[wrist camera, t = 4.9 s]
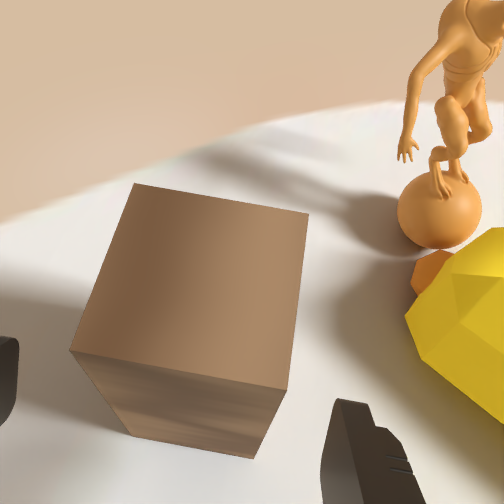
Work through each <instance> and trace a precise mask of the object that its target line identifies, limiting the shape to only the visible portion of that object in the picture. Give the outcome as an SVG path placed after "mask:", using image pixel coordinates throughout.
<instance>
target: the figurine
mask: <svg viewBox="0 0 504 504" xmlns="http://www.w3.org/2000/svg"><path fill="white" fill-rule="evenodd" d="M503 38H504V0H503V1H490V0H452V1H451V2H450V3H449V4H448V5H447V6H446V8H445V9H444V11H443V13H442V15H441V18H440V21H439V28H438V40H437V42H436V44H435V45H434V46H433V47H432V48H431V49H430V50H429V51H428V53H427V54H426V55H425V56H424V57H423V58H422V59H421V61H420V62H419V63H418V64H417V65H416V66H415V68H414V69H413V70H412V72H411V74H410V76H409V80H408V85H407V97H406V103H405V110H404V118H403V130H402V134H401V137H400V140H399V144H398V154H397V159H398V161H399V158H400V154H401V153H402V154H403V162H404V163H405V162H406V153H408V154H409V157H410V160H411V162H413V159H412V149H411V148H412V146H414V147H415V148H416V149H417V150H419V147H418V145H417V143H416V142H415V141H414V140H413V139H412V137H411V134H412V130H413V127H414V124H415V121H416V117H417V112H418V102H419V96H420V93H421V88H422V84H423V80H424V78H425V77H426V76H427V75H428V74H429V73H430V72H432V71H433V70H434V69H435V68H436V67H437V66H438V65H439V64H440V63H441V62H442V63H443V68H444V85H445V90H446V91H445V92H446V93H445V97H442V98H440V99H439V100H438V101H437V102H436V104H435V107H434V109H435V114H436V116H437V124H438V126H439V128H440V131H441V135H442V138H443V141H444V143H445V145H446V146H447V147H445V146H437V147H434V148H433V149H432V151H431V156H430V157H429V169H430V172H427V173H424V174H422V175H420V176H418V177H416V178H415V179H414V180H412V181H411V182H410V183H409V184H408V185H407V186H406V187H405V189H404V190H403V192H402V194H401V196H400V198H399V201H398V206H397V216H398V221H399V224H400V227H401V229H402V230H403V232H404V233H405V235H406V236H407V237H408V238H409V239H410V240H412V241H413V242H414V243H416V244H418V245H420V246H422V247H425V248H429V249H447V248H451V247H454V246H457V245H459V244H461V243H462V242H464V241H465V240H466V239H468V238H469V237H470V236H471V235H472V234H473V232H474V231H475V230H476V228H477V226H478V224H479V222H480V218H481V213H482V204H481V199H480V196H479V193H478V191H477V190H476V188H475V187H474V185H473V184H472V183H471V182H470V181H469V178H468V176H467V174H466V173H465V172H464V171H463V170H462V169H461V166H460V161H459V158H460V157H461V156H462V155H463V154H464V153H465V152H466V150H467V148H468V145H470V144H473V143H477V142H481V141H483V140H485V139H486V138H487V137H488V136H489V135H490V134H491V133H492V129H493V128H492V124H491V122H490V120H489V115H488V110H487V105H486V101H485V80H484V78H483V77H482V75H483V73H484V72H485V71H486V70H488V69H489V67H490V66H491V65H492V63H493V62H494V61H495V60H496V58H497V57H498V55H499V53H500V50H501V47H502V40H503ZM469 126H470V127H471V130H472V132H469V131H468V128H469ZM447 160H448V162H449V170H448V171H444V170H441V168H440V164H439V162H442V161H447Z"/></svg>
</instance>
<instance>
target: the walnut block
mask: <svg viewBox="0 0 504 504" xmlns="http://www.w3.org/2000/svg"><path fill="white" fill-rule="evenodd" d="M308 217H309V214H307V213H301V212H296V211H290V210H284V209H279V208H273V207H267V206H262V205H256V204H250V203H244V202H239V201H233V200H227V199H222V198H216V197H210V196H205V195H199V194H193V193H188V192H182V191H176V190H170V189H165V188H159V187H153V186H148V185H142V184H136V183H134V185H133V187H132V190H131V192H130V195H129V197H128V200H127V203H126V205H125V208H124V210H123V213H122V215H121V218H120V221H119V223H118V226H117V228H116V231H115V233H114V236H113V239H112V241H111V244H110V246H109V249H108V251H107V254H106V257H105V259H104V262H103V264H102V267H101V269H100V272H99V275H98V277H97V280H96V282H95V285H94V287H93V290H92V293H91V295H90V298H89V300H88V303H87V305H86V308H85V311H84V313H83V316H82V318H81V321H80V323H79V326H78V329H77V331H76V334H75V336H74V339H73V341H72V344H71V347H70V349H69V350H70V352H71V353H72V355H73V356H74V357H75V359H76V360H77V361H78V363H79V364H80V366H81V367H82V368H83V370H84V371H85V372H86V374H87V375H88V377H89V378H90V379H91V381H92V382H93V383H94V385H95V386H96V387H97V389H98V390H99V392H100V393H101V394H102V396H103V397H104V398H105V400H106V401H107V403H108V404H109V405H110V407H111V408H112V409H113V411H114V412H115V414H116V415H117V416H118V418H119V419H120V420H121V422H122V423H123V424H124V426H125V427H126V429H127V430H128V431H129V433H130V434H131V435H132V436H133V437H138V438H144V439H149V440H154V441H160V442H165V443H170V444H175V445H181V446H186V447H191V448H197V449H202V450H207V451H212V452H218V453H223V454H228V455H234V456H239V457H244V458H249V459H254V457H255V455H256V453H257V451H258V449H259V447H260V445H261V443H262V441H263V439H264V437H265V435H266V433H267V430H268V428H269V426H270V424H271V422H272V420H273V418H274V416H275V414H276V412H277V410H278V408H279V406H280V404H281V402H282V400H283V398H284V396H285V393H286V391H287V387H288V378H289V370H290V362H291V354H292V346H293V338H294V330H295V322H296V314H297V306H298V298H299V290H300V282H301V274H302V266H303V258H304V250H305V242H306V233H307V225H308Z"/></svg>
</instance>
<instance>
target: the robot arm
mask: <svg viewBox="0 0 504 504" xmlns="http://www.w3.org/2000/svg"><path fill="white" fill-rule="evenodd" d="M18 360H19V343H18V341H17V339H15V338H11V337H5V336H0V426H1V425H2V424H3V423H4V422H5V421H6V420H7V418H8V417H9V415H10V413H11V411H12V409H13V406H14V404H15V400H16V392H17V376H18ZM320 482H321V490H322V498H323V504H426V502H425V500H424V497H423V495H422V493H421V490H420V488H419V485H418V483H417V480H416V478H415V476H414V475H413V471H412V468H411V466H410V463H409V462H407V456H406V454H405V451H404V449H403V446H402V444H401V442H400V441H399V440H398V439H397V438H396V437H395V436H394V435H393V434H392V433H391V432H390V431H389V430H388V429H387V428H383V427H377V426H375V423H374V420H373V418H372V415H371V412H370V409H369V406H368V404H366V403H361V402H356V401H350V400H345V399H339V398H337V399H336V401H335V403H334V406H333V410H332V414H331V419H330V423H329V427H328V431H327V436H326V440H325V444H324V449H323V453H322V459H321V468H320Z"/></svg>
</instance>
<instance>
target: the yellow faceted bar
mask: <svg viewBox="0 0 504 504" xmlns="http://www.w3.org/2000/svg"><path fill="white" fill-rule="evenodd" d="M410 284H411V286H412V287H413V289H414V291H415V292H416V294H417V296H418V297H417V299H416V300H415V302H414V303H413V305H412V306H411V308H410V309H409V310H408V312H407V313H406V315H405V319H406V322H407V324H408V327H409V329H410V332H411V335H412V337H413V340H414V342H415V345H416V348H417V350H418V353H419V355H420V358H421V360H423V361H424V362H425V363H426V364H428V365H429V366H430V367H431V368H433V369H434V370H435V371H436V372H438V373H439V374H440V375H441V376H443V377H444V378H445V379H446V380H448V381H449V382H450V383H452V384H453V385H454V386H455V387H457V388H458V389H459V390H460V391H462V392H463V393H464V394H465V395H467V396H468V397H469V398H470V399H472V400H473V401H474V402H475V403H477V404H478V405H479V406H480V407H482V408H483V409H484V410H485V411H487V412H488V413H489V414H490V415H492V416H493V417H494V418H495V419H497V420H498V421H499V422H500V423H502V424H503V425H504V227H499V228H491V229H489V230H488V231H486V232H485V233H484V234H482V235H481V236H479V237H478V238H476V239H475V240H474V241H472V242H471V243H469V244H468V245H467V246H465V247H464V248H462V249H461V250H460V251H458V252H457V253H455V254H453V253H450V252H447V251H443V250H438V251H436V252H434V253H431V254H429V255H427V256H425V257H423V258H421V259H419V260H417V262H416V265H415V268H414V272H413V275H412V279H411V282H410Z"/></svg>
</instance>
